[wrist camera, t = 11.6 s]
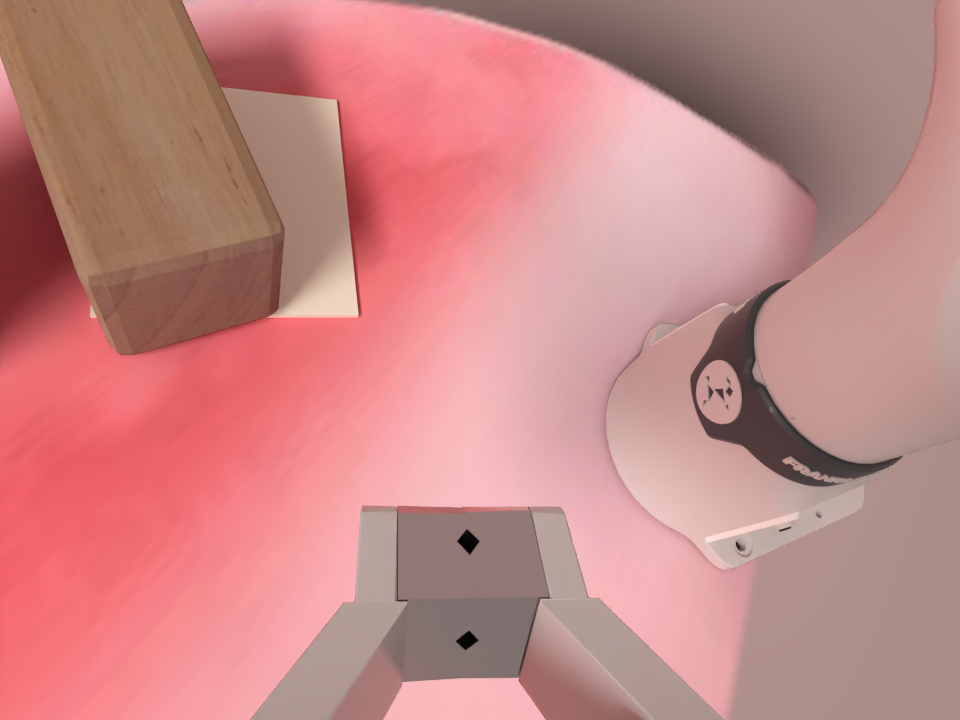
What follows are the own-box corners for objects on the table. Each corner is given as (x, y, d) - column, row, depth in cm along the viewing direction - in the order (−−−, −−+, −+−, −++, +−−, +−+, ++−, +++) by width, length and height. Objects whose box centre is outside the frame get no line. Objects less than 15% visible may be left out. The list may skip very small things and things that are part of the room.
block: (117, 366, 38) (23, 103, 43) (283, 318, 42) (182, 84, 47) (78, 281, 29) (-34, -37, 34) (292, 232, 34) (167, -43, 39)
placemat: (336, 102, 51) (336, 99, 51) (358, 317, 45) (358, 315, 44) (106, 77, 46) (105, 74, 46) (91, 318, 39) (90, 316, 39)
